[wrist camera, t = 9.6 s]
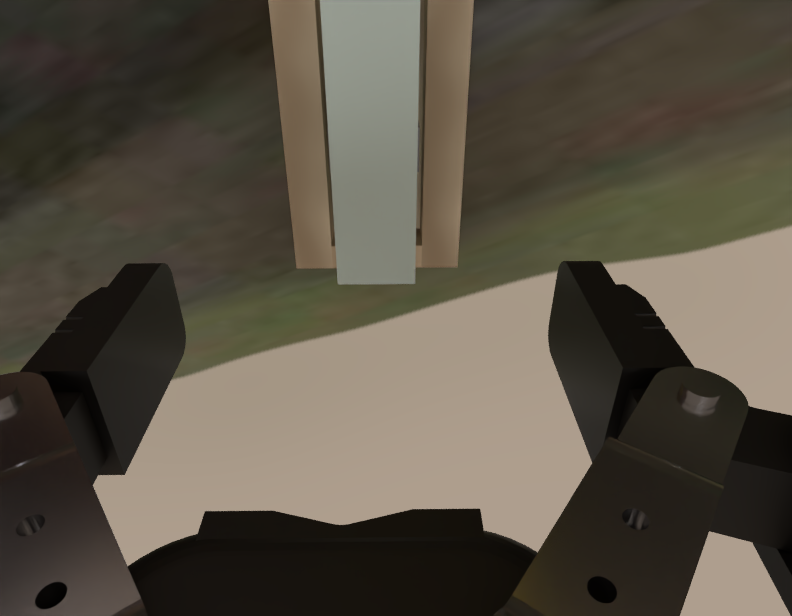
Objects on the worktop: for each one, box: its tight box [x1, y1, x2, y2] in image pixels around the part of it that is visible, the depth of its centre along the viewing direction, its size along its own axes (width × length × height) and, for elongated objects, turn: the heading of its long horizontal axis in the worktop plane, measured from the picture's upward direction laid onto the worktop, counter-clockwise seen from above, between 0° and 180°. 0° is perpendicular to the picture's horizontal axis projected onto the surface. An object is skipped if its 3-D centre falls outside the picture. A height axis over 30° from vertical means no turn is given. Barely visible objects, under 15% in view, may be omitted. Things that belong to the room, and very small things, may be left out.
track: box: [268, 0, 474, 268], centre depth 26 cm, size 8×15×3 cm, turn 0°
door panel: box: [320, 0, 420, 284], centre depth 24 cm, size 3×10×8 cm, turn 0°
